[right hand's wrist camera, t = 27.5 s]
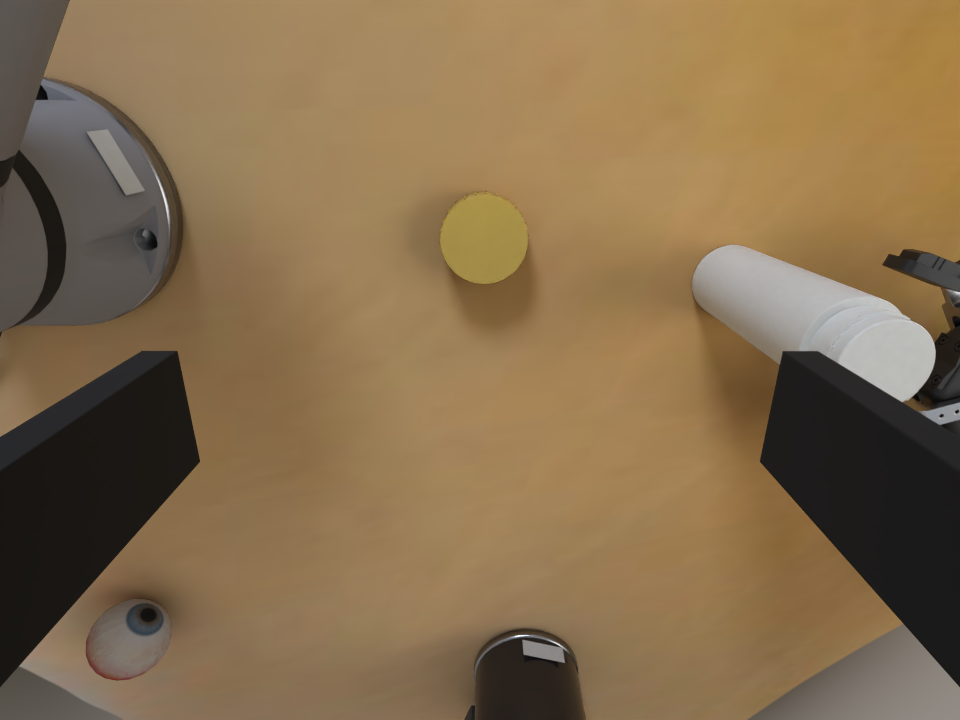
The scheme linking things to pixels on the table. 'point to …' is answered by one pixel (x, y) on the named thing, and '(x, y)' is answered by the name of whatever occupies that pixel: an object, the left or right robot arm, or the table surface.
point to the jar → (814, 318)
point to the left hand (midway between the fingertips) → (854, 328)
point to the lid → (484, 238)
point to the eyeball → (128, 639)
